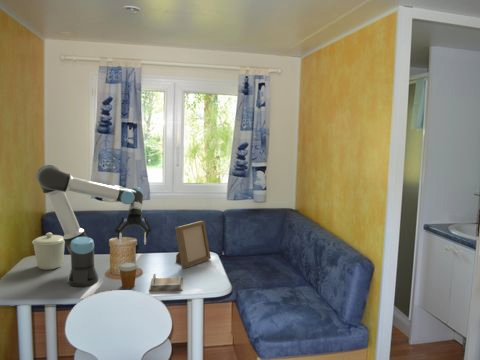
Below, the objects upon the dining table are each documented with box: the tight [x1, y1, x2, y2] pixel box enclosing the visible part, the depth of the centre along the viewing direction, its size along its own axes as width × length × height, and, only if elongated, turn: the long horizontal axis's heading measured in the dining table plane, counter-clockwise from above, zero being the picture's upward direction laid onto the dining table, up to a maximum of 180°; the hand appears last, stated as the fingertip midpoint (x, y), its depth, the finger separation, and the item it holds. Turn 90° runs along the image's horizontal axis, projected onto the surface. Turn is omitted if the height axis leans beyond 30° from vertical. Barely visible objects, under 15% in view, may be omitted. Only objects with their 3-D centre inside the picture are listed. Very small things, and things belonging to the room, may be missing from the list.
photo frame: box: [174, 220, 211, 269], centre depth 248 cm, size 15×22×25 cm
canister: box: [31, 231, 66, 271], centre depth 233 cm, size 18×18×21 cm
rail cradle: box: [148, 272, 184, 292], centre depth 212 cm, size 17×16×3 cm
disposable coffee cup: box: [118, 261, 138, 289], centre depth 209 cm, size 10×10×12 cm
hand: (132, 243), depth 218 cm, fingers open, 13 cm apart
